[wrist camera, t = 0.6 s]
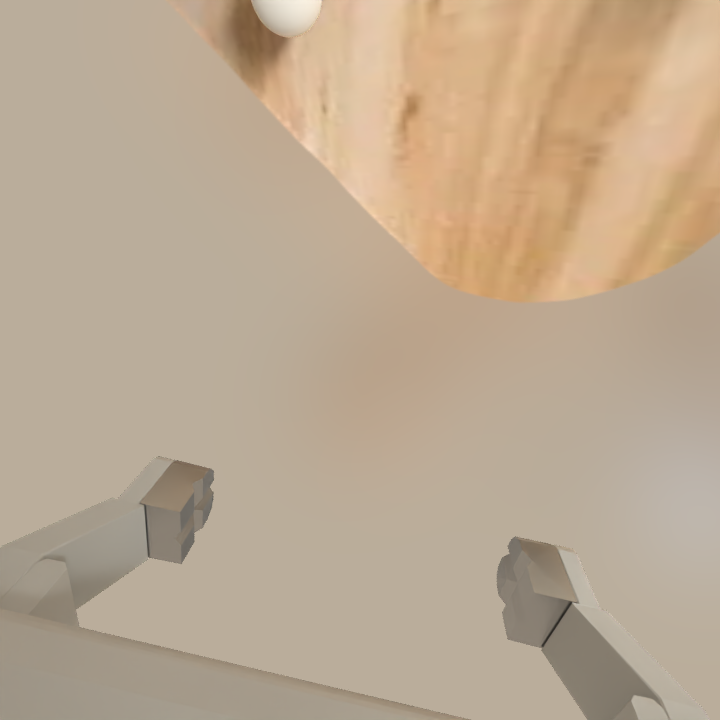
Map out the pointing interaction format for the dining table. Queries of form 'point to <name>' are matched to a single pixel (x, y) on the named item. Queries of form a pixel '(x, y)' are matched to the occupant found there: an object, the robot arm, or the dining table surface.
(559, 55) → the dining table surface
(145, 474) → the robot arm
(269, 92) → the dining table surface
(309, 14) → the lightbulb
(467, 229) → the dining table surface
